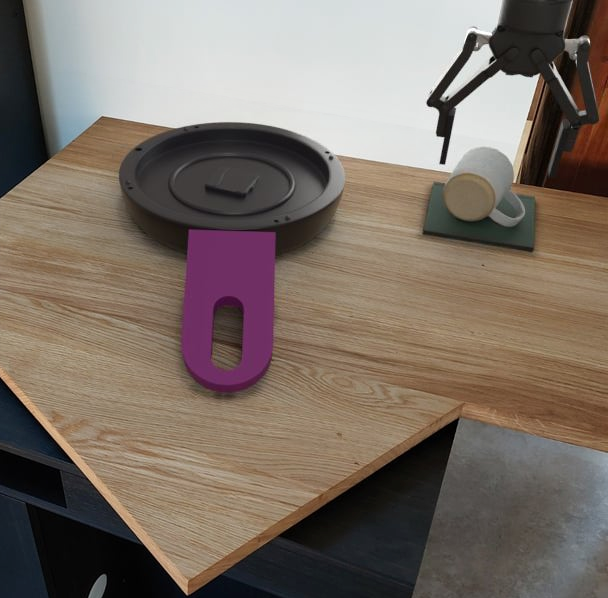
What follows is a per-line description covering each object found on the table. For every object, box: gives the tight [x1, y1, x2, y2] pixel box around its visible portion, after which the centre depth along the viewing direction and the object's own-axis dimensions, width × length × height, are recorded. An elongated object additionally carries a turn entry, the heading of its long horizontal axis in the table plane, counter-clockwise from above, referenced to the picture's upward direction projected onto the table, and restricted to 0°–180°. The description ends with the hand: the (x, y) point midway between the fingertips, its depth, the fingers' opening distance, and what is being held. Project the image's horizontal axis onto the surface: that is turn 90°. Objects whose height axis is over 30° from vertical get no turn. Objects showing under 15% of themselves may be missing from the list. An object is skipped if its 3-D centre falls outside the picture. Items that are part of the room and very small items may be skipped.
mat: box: [422, 180, 536, 253], centre depth 106 cm, size 14×14×1 cm
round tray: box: [118, 121, 346, 256], centre depth 105 cm, size 30×6×30 cm
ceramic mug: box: [443, 146, 525, 227], centre depth 103 cm, size 11×8×8 cm
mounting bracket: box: [180, 230, 276, 393], centre depth 85 cm, size 9×8×18 cm
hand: (496, 166), depth 101 cm, fingers open, 13 cm apart
